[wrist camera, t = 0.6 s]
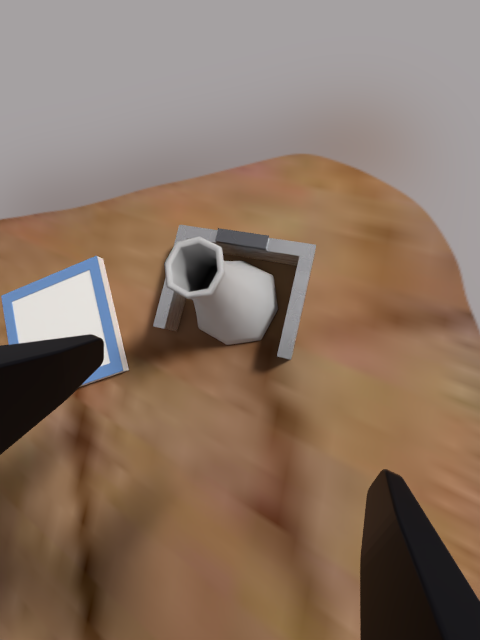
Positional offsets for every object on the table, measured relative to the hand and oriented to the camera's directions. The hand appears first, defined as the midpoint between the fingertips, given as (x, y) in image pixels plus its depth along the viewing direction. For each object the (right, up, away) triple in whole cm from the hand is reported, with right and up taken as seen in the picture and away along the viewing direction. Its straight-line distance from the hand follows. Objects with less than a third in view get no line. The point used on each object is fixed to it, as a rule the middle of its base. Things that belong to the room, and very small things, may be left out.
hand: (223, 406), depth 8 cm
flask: (0, +4, +16) cm, 16 cm away
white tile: (-16, +1, +18) cm, 24 cm away
